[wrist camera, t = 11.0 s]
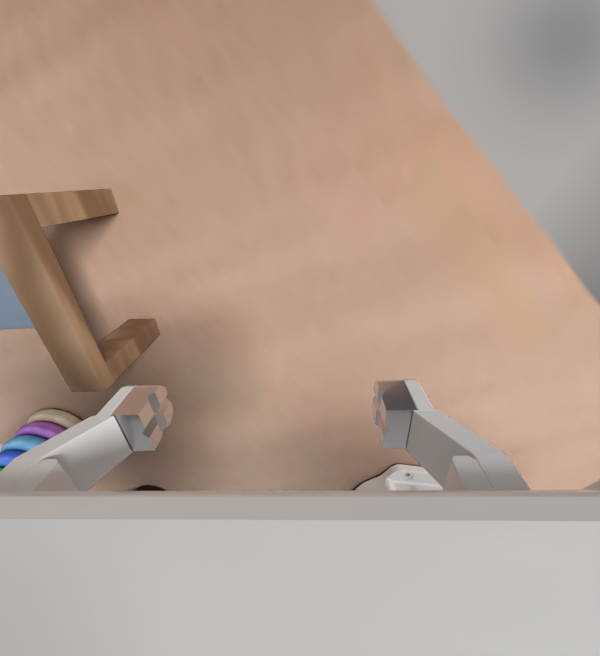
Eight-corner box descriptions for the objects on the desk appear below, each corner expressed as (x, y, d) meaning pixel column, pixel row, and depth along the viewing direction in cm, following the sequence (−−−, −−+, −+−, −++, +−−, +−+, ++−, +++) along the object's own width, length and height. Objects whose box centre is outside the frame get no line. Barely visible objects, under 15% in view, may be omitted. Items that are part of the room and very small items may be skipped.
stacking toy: (24, 404, 38) (-192, 577, 22) (81, 406, 38) (-93, 581, 22) (48, 444, 42) (-121, 616, 26) (100, 446, 42) (-36, 620, 25)
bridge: (110, 188, 25) (7, 194, 17) (159, 334, 32) (105, 391, 24) (78, 190, 25) (-40, 197, 17) (134, 335, 32) (71, 391, 24)
